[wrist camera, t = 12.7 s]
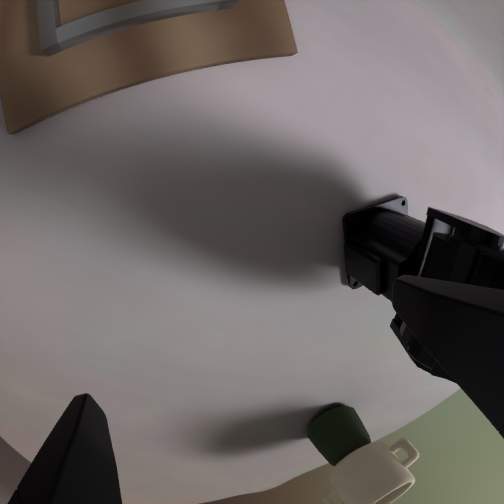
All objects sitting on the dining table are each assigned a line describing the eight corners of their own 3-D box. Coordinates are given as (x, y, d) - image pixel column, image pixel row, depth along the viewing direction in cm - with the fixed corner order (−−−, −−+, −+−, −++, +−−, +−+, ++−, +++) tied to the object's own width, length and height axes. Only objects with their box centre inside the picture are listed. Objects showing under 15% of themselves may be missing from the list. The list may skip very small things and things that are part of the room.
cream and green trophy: (305, 452, 34) (352, 528, 22) (276, 438, 30) (327, 530, 19) (373, 399, 34) (434, 469, 22) (354, 378, 31) (426, 462, 19)
